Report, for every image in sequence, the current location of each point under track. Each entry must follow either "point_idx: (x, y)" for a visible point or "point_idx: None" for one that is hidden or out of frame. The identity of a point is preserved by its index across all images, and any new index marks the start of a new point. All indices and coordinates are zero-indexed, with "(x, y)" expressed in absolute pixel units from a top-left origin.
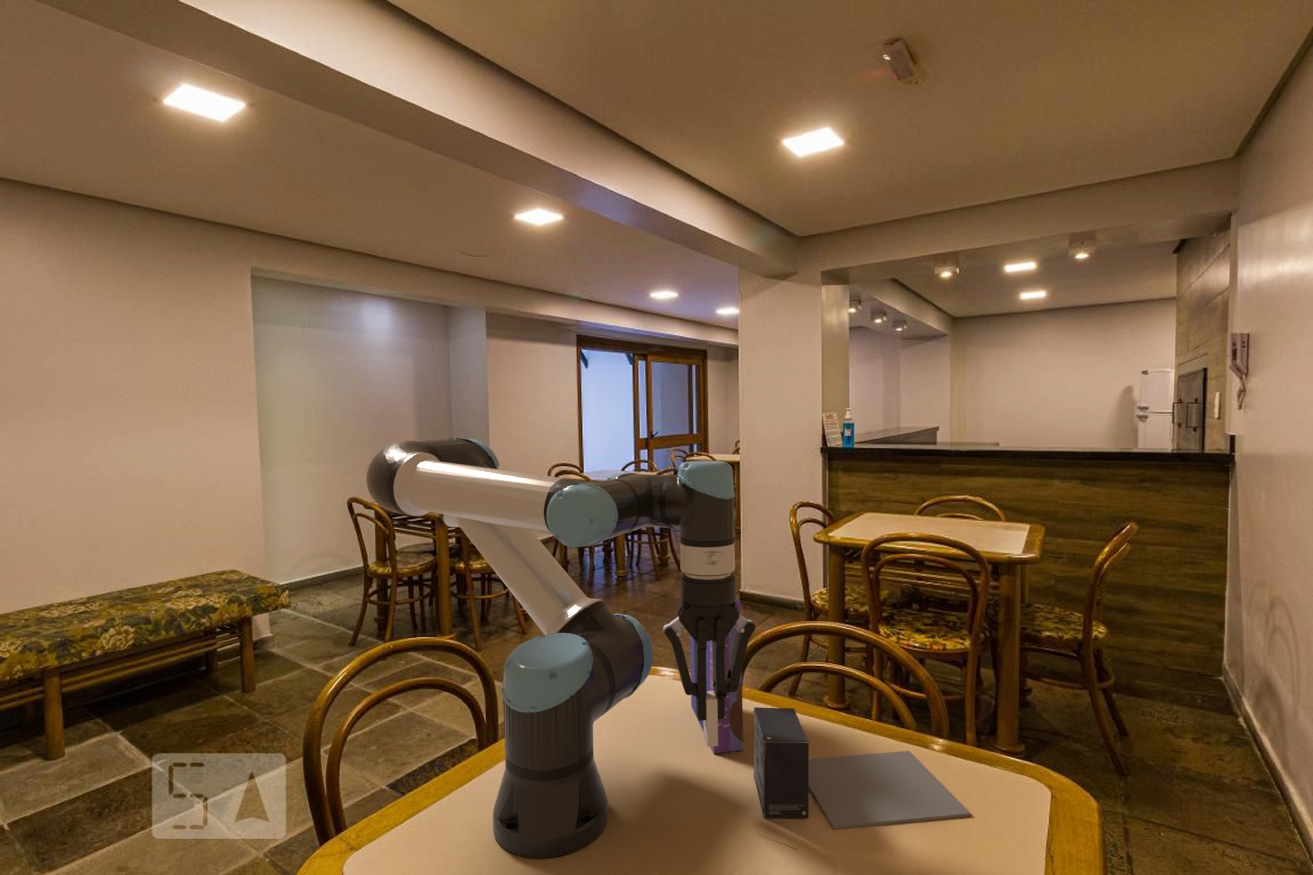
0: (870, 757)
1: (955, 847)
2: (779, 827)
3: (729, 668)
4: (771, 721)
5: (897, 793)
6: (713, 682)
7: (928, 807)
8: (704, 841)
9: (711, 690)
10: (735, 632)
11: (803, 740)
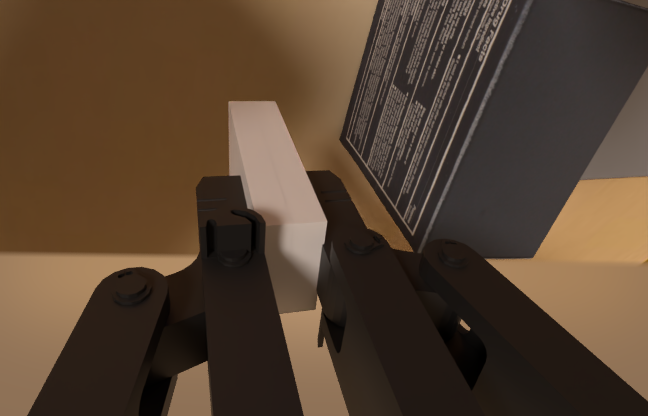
0: None
1: (585, 232)
2: (358, 170)
3: (488, 357)
4: (517, 139)
5: (638, 104)
6: (340, 281)
7: (641, 152)
8: (182, 198)
9: None
10: None
11: (526, 250)
